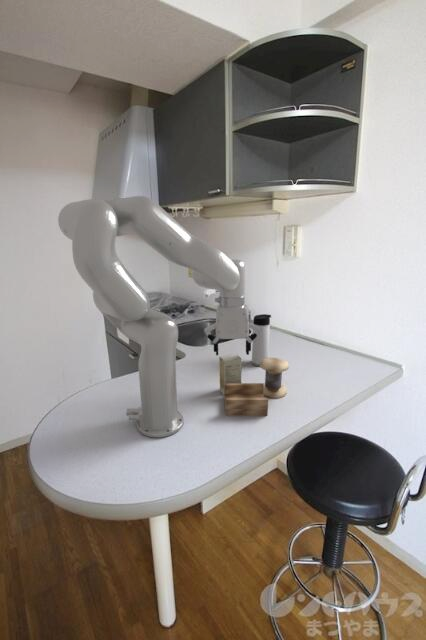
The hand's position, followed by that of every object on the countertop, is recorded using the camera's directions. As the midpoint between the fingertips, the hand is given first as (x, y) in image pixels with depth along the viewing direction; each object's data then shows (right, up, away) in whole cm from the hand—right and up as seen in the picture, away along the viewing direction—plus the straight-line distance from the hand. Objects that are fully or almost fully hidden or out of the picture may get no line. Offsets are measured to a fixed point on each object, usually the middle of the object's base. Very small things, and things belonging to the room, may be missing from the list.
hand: (232, 353), depth 101 cm
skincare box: (-1, -13, +3) cm, 13 cm away
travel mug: (+13, -7, +24) cm, 28 cm away
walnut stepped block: (+3, -15, -5) cm, 17 cm away
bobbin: (+13, -13, +3) cm, 19 cm away
